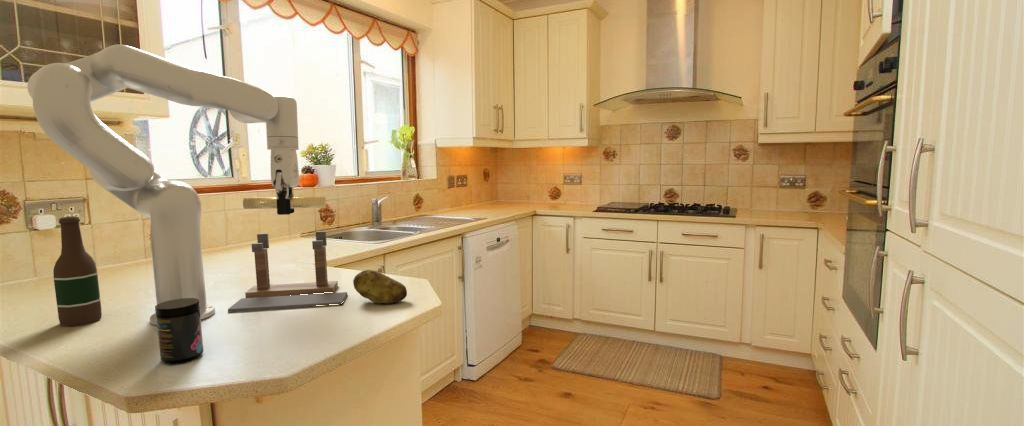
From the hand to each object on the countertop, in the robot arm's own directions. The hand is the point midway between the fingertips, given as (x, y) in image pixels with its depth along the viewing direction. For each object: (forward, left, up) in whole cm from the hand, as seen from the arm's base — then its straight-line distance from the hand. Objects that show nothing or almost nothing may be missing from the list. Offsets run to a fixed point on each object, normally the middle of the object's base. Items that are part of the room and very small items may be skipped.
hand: (285, 213), depth 132 cm
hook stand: (0, 0, -22) cm, 22 cm away
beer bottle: (-15, +42, -22) cm, 49 cm away
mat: (-11, -2, -22) cm, 24 cm away
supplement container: (-43, +9, -22) cm, 49 cm away
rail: (0, 0, +3) cm, 3 cm away
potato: (-15, -25, -22) cm, 36 cm away
